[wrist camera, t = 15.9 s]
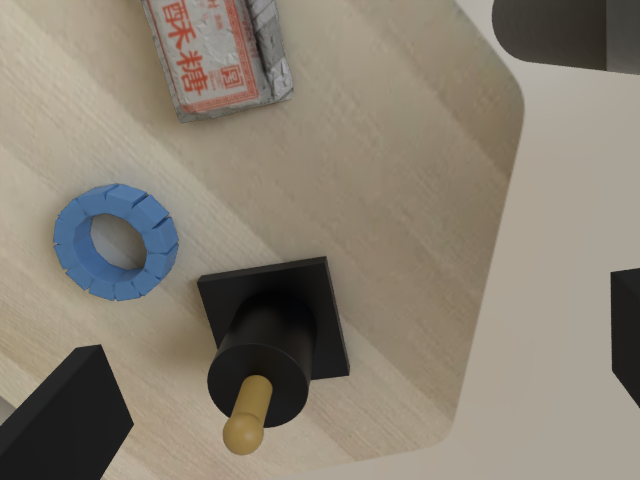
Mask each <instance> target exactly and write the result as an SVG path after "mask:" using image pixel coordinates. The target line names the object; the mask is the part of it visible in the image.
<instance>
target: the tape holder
mask: <svg viewBox="0 0 640 480" xmlns="http://www.w3.org/2000/svg"><path fill="white" fill-rule="evenodd" d="M197 285H198V288H199V291H200V295H201V298H202V301H203V304H204V307H205V310H206V313H207V317H208V320H209V323H210V326H211V329H212V332H213V336H214V339H215V342H216V345H217V348H218V352H217V354H216V356H215V358H214V360H213V362H212V364H211V367H210V369H209V372H208V378H207V383H208V390H209V393H210V396H211V398H212V400H213V402H214V404H215V405H216V406H217V407H218V409H219V410H220V411H221V412H222V413H223V414H225V415H226V416H227V417H229V419H228V421H227V422H226V424H225V426H224V429H223V440H224V443H225V445H226V447H227V448H228V449H229V450H230V451H231V452H232V453H234V454H237V455H247V454H250V453H252V452H254V451H255V450H256V449H257V448H258V447H259V446H260V444H261V442H262V440H263V436H264V429H263V428H270V427H276V426H279V425H282V424H285V423H287V422H289V421H290V420H292V419H293V418H295V417H296V416H297V415H298V414H299V413H300V412H301V410H302V409H303V407H304V405H305V403H306V401H307V398H308V391H309V385H310V380H317V379H325V378H333V377H341V376H349V373H350V365H349V360H348V356H347V351H346V346H345V342H344V337H343V333H342V328H341V323H340V319H339V314H338V309H337V305H336V300H335V295H334V291H333V286H332V281H331V277H330V272H329V267H328V263H327V258H326V256H325V257H318V258H312V259H306V260H299V261H293V262H287V263H280V264H274V265H268V266H261V267H255V268H249V269H242V270H236V271H229V272H223V273H217V274H210V275H204V276H201V277H200V279H199V280H198V282H197Z"/></svg>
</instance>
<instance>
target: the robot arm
mask: <svg viewBox="0 0 640 480" xmlns="http://www.w3.org/2000/svg"><path fill="white" fill-rule="evenodd" d="M611 335H612V336H611V338H612V371H613V373H614V374H615V375H616V377H617V378H618V379H619V381H620V382H621V383H622V385H623V386H624V387H625V389H626V390H627V391H628V393H629V394H630V396H631V397H632V398H633V400H634V401H635V402H636V403H637V405H638V406H639V408H640V268H637V269H630V270H623V271H616V272H611ZM133 425H134V423H133V421H132V418H131V416H130V413H129V411H128V409H127V406H126V404H125V401H124V399H123V396H122V394H121V392H120V389H119V387H118V384H117V382H116V379H115V377H114V375H113V372H112V370H111V367H110V365H109V363H108V360H107V358H106V355H105V353H104V350H103V348H102V346H101V344H99V345H92V346H85V347H78V348H75V349H74V350H73V351H72V352H71V353H70V354H69V355H68V356H67V358H66V359H65V360H64V361H63V362H62V363H61V364H60V365H59V366H58V367H57V368H56V369H55V370H54V371H53V372H52V373H51V374H50V375H49V376H48V377H47V378H46V379H45V380H44V381H43V382H42V383H41V384H40V386H39V387H38V388H37V389H36V390H35V391H34V392H33V393H32V394H31V395H30V396H29V397H28V398H27V399H26V400H25V401H24V402H23V403H22V404H21V405H20V406H19V407H18V408H17V409H16V410H15V411H14V413H13V414H12V415H11V416H10V417H9V418H8V419H7V420H6V421H5V422H4V423H3V424H2V425H1V426H0V480H100V479H101V477H102V475H103V474H104V472H105V471H106V469H107V467H108V466H109V464H110V462H111V461H112V459H113V458H114V456H115V454H116V453H117V451H118V450H119V448H120V446H121V445H122V443H123V441H124V440H125V438H126V437H127V435H128V433H129V432H130V430H131V428H132V427H133Z"/></svg>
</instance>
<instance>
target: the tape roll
mask: <svg viewBox="0 0 640 480" xmlns="http://www.w3.org/2000/svg"><path fill="white" fill-rule="evenodd" d="M104 213H108V214H111V215H114V216H117V217H120V218H123V219H126V220H127V221H128V222H129V223H130V224H131V225H132V226H133V227H134V228H135V229H136V230H137V231H138V232H139V233H140V234H141V236H142V239H143V241H144V244H145V247H146V250H147V256H146V261H145V265H144V267H143V268H137V269H131V270H126V269H123V268H120V267H117V266H114V265H111V264H109V263H108V262H107V261H106V260H105V259H104V258H103V257H102V256H101V255H100V254H99V253H97V252H96V250H95V247H94V245H93V242H92V239H91V237H90V228H91V222H92V218H93V217H94V216H95V215H99V214H104ZM168 214H169V213H168V212H167V211H166V210H165V209H164V208H163V207H162V206H161V205H160V204H159V203H158V202H157V201H156V200H155V199H154V198H153V197H152V196H151V195H149V196H148V197H146V192H144V191H141V190H138V189H135V188H132V187H129V186H126V185H124V184H121V185H120V186H119V185H118V184H112V185H107V186H102V187H97V188H94V189H92V190H90V191H88V192H86V193H84V194H82V195H81V196H79V197H77V198H75V199H73V200H72V201H71V202H70V203H69V204H68V205H67V207H66V208H65V209H64V210H63V211H62V212H61V213H60V214H59V215H58V216H59V218H58V219H56V224H55V231H54V238H53V242H54V243H57V244H56V245H55V246H54V249H55V251H56V254H57V256H58V259H59V261H60V264H61V266H62V268H63V269H69V270H68V271H67V272H66V274H67V275H68V276H69V277H70V278H71V279H72V280H74V281H75V282H76V283H77V284H78V285H79V286H80V287H81V288H82V289H83V290H87V289H88V288H89V287H90V289H89V293H90V294H93V295H96V296H99V297H102V298H105V299H108V300H111V301H113V300H114V299H115V298H116V300H117V301H122V300H129V299H135V298H140V297H141V296H142V295H143V296H145V295H146V294H147V293H148V292H149V291H151V290H152V289H153V288H154V287H155V286H156V285H157V284H159V283H160V282H161V280H162V279H163V278H164V277H165V276H166V275H167V273H168V272H169V271H170V270H171V267H172V266H173V265H174V262H175V258H176V254H177V250H178V245H179V244H177V243H176V242H177V241H178V237H177V233H176V230H175V227H174V224H173V221H172V218H171V217H168V218H165V217H166V216H167V215H168Z"/></svg>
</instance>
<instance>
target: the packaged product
mask: <svg viewBox="0 0 640 480" xmlns="http://www.w3.org/2000/svg"><path fill="white" fill-rule="evenodd" d="M141 2H142V6H143V9H144V12H145V15H146V18H147V20H148V23H149V25H150V27H151V29H152V31H153V39H154V43H155V46H156V49H157V52H158V56H159V59H160V62H161V65H162V68H163V70H164V73H165V77H166V81H167V84H168V87H169V91H170V94H171V97H172V100H173V103H174V107H175V110H176V113H177V116H178V119H179V122H180V124H181V123H186V122H190V121H195V120H205V119H208V118H211V119H213V118H217V117H220V116H225V115H229V114H233V113H236V112H237V111H241V110H245V109H249V108H253V107H258V106H262V105H267V104H271V103H276V102H281V101H285V100H290V99H291V97H292V96H293V95H294V93H293V84H292V77H291V74H290V71H289V67H288V64H287V60H286V57H285V53H284V48H283V42H282V37H281V31H280V26H279V20H278V15H277V10H276V5H275V0H141Z"/></svg>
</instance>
